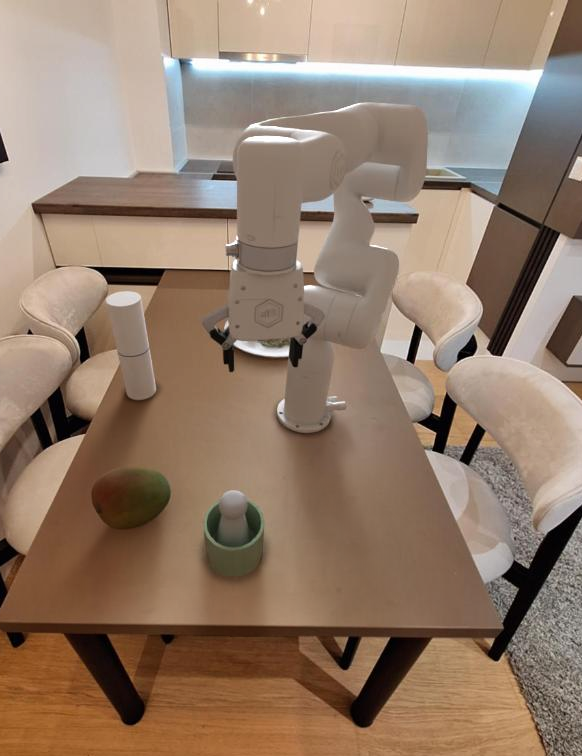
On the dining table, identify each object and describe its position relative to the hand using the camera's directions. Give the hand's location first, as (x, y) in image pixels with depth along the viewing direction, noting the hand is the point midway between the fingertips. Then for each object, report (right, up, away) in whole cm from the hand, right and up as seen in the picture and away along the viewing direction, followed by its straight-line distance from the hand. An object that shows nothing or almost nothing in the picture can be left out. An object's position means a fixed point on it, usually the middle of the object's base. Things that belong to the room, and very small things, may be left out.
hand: (262, 364), depth 60 cm
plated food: (+4, +12, +62) cm, 64 cm away
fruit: (-23, -26, +12) cm, 37 cm away
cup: (-5, -31, +6) cm, 32 cm away
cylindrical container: (-30, -5, +39) cm, 49 cm away
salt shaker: (-5, -30, +6) cm, 31 cm away
